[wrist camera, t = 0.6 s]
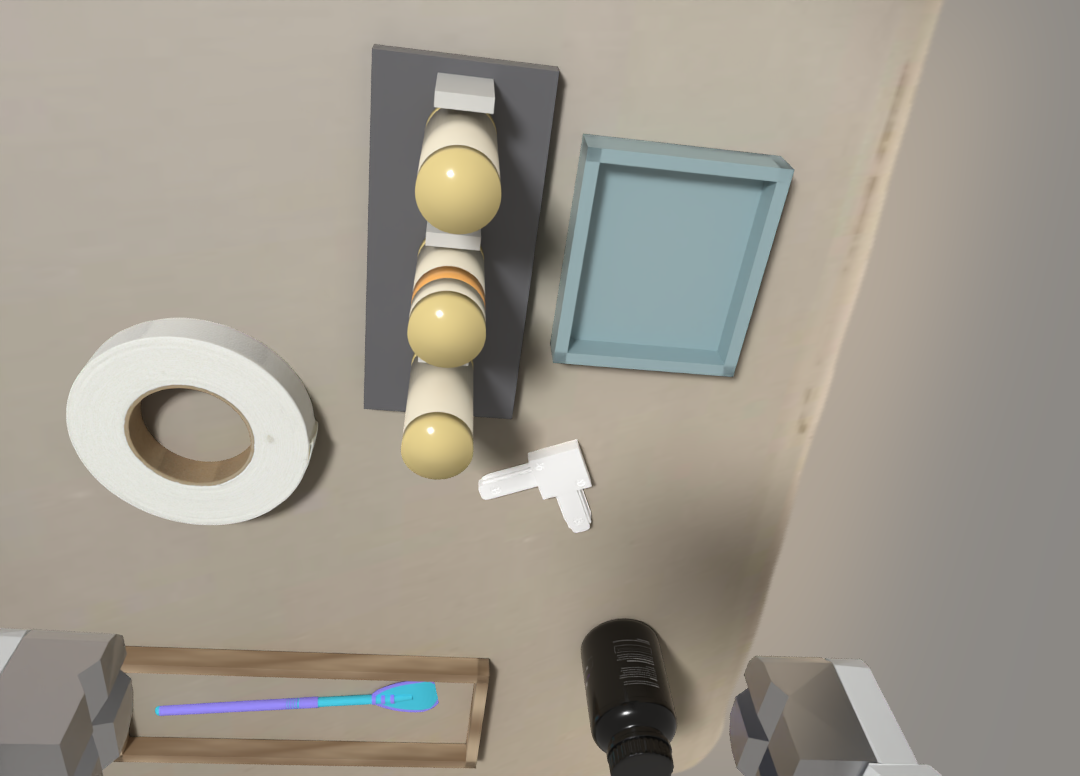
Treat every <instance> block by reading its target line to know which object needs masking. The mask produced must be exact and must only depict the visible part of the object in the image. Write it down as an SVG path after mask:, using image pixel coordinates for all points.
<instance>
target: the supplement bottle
mask: <svg viewBox="0 0 1080 776" xmlns="http://www.w3.org/2000/svg"><path fill="white" fill-rule="evenodd" d="M581 659H582V668H583V675H584V683H585V690H586V697H587V705H588V712H589V720H590V727H591V733H592V737H593V739H594V741H595V743H596V744H597V746H598V747H599V748H600V749H601V750H602V751H604V752H605V753H607V760H608V763H609V768H610V773H611V776H671V773H672V772H673V768H674V765H673V759H672V749H671V745H670V742H671V741H672V739H673V737H674V735H675V733H676V729H677V718H676V713H675V709H674V704H673V700H672V696H671V692H670V687H669V683H668V679H667V674H666V670H665V666H664V661H663V657H662V653H661V649H660V644H659V641H658V638H657V636H656V634H655V632H654V631H653V630H652V629H651V628H650V627H648V626H647V625H645V624H643V623H641V622H639V621H635V620H629V619H618V620H612V621H608V622H605V623H603V624H601V625H599V626H597V627H595V628H594V629H593V630H591V631H590V632H589V633H588V634H587V636H586V637H585V639H584V640H583V643H582V646H581Z"/></svg>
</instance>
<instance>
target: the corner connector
mask: <svg viewBox="0 0 1080 776" xmlns="http://www.w3.org/2000/svg"><path fill="white" fill-rule="evenodd" d="M528 462H529V463H526V464H522V465H518V466H515V467H511V468H507V469H504V470H500V471H497V472H493V473H489V474H487V475H485V476H483V477H482V479H480V480H479V488H478V489H479V492H480V495H481V497H482V498H483V499H485V500H488V499H493V498H497V497H500V496H504V495H508V494H511V493H515V492H519V491H522V490H526V489H530V488H533V487H537V486H538V488H539V490H540V493H541V495H542V498H543V500H544V499H547V498H551V497H555V496H556V498H557V501H558V504H559V506H560V509H561V512H562V514H563V517H564V519H565V521H566V522H567V524H568V527H569V528H571V529H572V531H573V532H574V533H578V532H582V531H586V530H588V529H589V528H590V524H589V523H591V511H590V508H589V505H588V502H587V500H586V497H585V494H584V491H583V489H584V488H588V487H592V485H591V479H590V475H589V472H588V469H587V466H586V464H585V461H584V458H583V455H582V452H581V449H580V446H579V443H578V440H577V439H576V440H572V441H568V442H565V443H561V444H558V445H554V446H551V447H547V448H543V449H540V450H536V451H533V452H529V453H528Z"/></svg>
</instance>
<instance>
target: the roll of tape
mask: <svg viewBox="0 0 1080 776" xmlns="http://www.w3.org/2000/svg"><path fill="white" fill-rule="evenodd" d="M171 388H186V389H193V390H198V391H202V392H205V393H208V394H211V395H213V396H215V397H217V398H219V399H221V400H222V401H224V402H225V403H227V404H228V405H229V406H231V407H232V408H233V409H234V410H235V411H236V412H237V413H238V414H239V415H240V417H241V418H242V420H243V421H244V422H245V424H246V426H247V428H248V431H249V434H250V439H251V445H250V446H249V447H248V448H247V449H246V450H245V451H244V452H242V453H241V454H239V455H237V456H235V457H233V458H230V459H227V460H224V461H217V462H202V461H195V460H191V459H187V458H184V457H181V456H179V455H177V454H175V453H173V452H171V451H169V450H168V449H166V448H165V447H163V446H162V445H161V444H159V443H158V442H157V441H156V440H155V439H154V438H153V437H152V435H151V434H150V433H149V431H148V430H147V428H146V426H145V424H144V422H143V419H142V415H141V400H142V399H143V398H145V397H146V396H148V395H150V394H152V393H154V392H157V391H160V390H165V389H171ZM66 422H67V428H68V433H69V436H70V439H71V442H72V444H73V446H74V448H75V450H76V452H77V454H78V456H79V458H80V459H81V461H82V462H83V464H84V465H85V467H86V468H87V469H88V470H89V472H90V473H91V474H92V475H93V476H94V477H95V478H96V479H97V480H98V481H99V482H100V483H101V484H102V485H103V486H104V487H106V488H107V489H108V490H109V491H110V492H112V493H113V494H115V495H116V496H118V497H119V498H121V499H122V500H124V501H126V502H127V503H129V504H131V505H133V506H135V507H137V508H139V509H141V510H143V511H145V512H147V513H150V514H153V515H155V516H158V517H161V518H165V519H168V520H172V521H177V522H182V523H188V524H197V525H224V524H233V523H239V522H243V521H247V520H251V519H253V518H256V517H258V516H261V515H263V514H265V513H267V512H269V511H271V510H272V509H274V508H275V507H277V506H278V505H279V504H281V503H282V502H283V501H285V500H286V499H287V498H288V497H289V496H290V495H291V494H292V493H293V492H294V490H295V489H296V488H297V486H298V485H299V483H300V482H301V480H302V478H303V476H304V474H305V471H306V469H307V467H308V464H309V461H310V458H311V455H312V451H313V448H314V444H315V441H316V437H317V432H318V421H316V420H315V418H314V411H313V407H312V403H311V400H310V397H309V395H308V393H307V391H306V388H305V387H304V385H303V383H302V381H301V380H300V378H299V377H298V376H297V374H296V373H295V372H294V370H293V369H292V368H291V367H290V366H289V365H288V364H287V363H286V362H285V361H284V360H283V359H282V358H281V357H280V356H279V355H278V354H277V353H276V352H274V351H273V350H272V349H270V348H269V347H268V346H266V345H265V344H263V343H262V342H260V341H259V340H257V339H255V338H254V337H252V336H250V335H248V334H246V333H244V332H241V331H239V330H237V329H234V328H232V327H229V326H226V325H223V324H219V323H216V322H211V321H207V320H201V319H193V318H166V319H159V320H152V321H147V322H143V323H140V324H137V325H134V326H132V327H129V328H127V329H125V330H122V331H120V332H119V333H117V334H115V335H114V336H112V337H111V338H110V339H108V340H107V341H106V342H105V343H104V344H103V345H102V346H101V347H100V348H99V349H98V350H97V351H96V352H95V354H94V355H93V356H92V358H91V359H90V360H89V361H88V363H87V364H86V365H85V367H84V368H83V369H82V371H81V372H80V374H79V375H78V377H77V378H76V380H75V381H74V383H73V386H72V388H71V390H70V393H69V397H68V401H67V408H66Z"/></svg>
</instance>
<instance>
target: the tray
mask: <svg viewBox="0 0 1080 776" xmlns="http://www.w3.org/2000/svg"><path fill="white" fill-rule="evenodd" d="M793 173H794V169H793V168H792V167H791V166H790V165H789V164H788V163H787V162H786V161H785V160H784V159H783V158H782V157H781V156H775V155H766V154H757V153H748V152H740V151H731V150H722V149H713V148H704V147H696V146H687V145H678V144H669V143H660V142H651V141H643V140H634V139H625V138H616V137H607V136H598V135H590V134H583V138H582V144H581V150H580V157H579V163H578V170H577V176H576V182H575V189H574V195H573V201H572V208H571V214H570V221H569V227H568V233H567V240H566V246H565V252H564V259H563V265H562V272H561V278H560V284H559V291H558V297H557V303H556V310H555V316H554V323H553V329H552V335H551V342H550V345H551V352H552V358H553V363H564V364H576V365H589V366H602V367H614V368H627V369H640V370H652V371H665V372H678V373H691V374H703V375H716V376H729V377H733V375H734V372H735V368H736V365H737V362H738V358H739V355H740V351H741V348H742V345H743V341H744V338H745V335H746V331H747V328H748V324H749V321H750V318H751V314H752V311H753V308H754V304H755V301H756V297H757V294H758V291H759V287H760V284H761V281H762V277H763V274H764V270H765V267H766V264H767V260H768V257H769V254H770V250H771V247H772V243H773V240H774V237H775V233H776V230H777V227H778V223H779V220H780V216H781V213H782V210H783V206H784V203H785V200H786V196H787V193H788V189H789V186H790V183H791V179H792V176H793Z"/></svg>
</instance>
